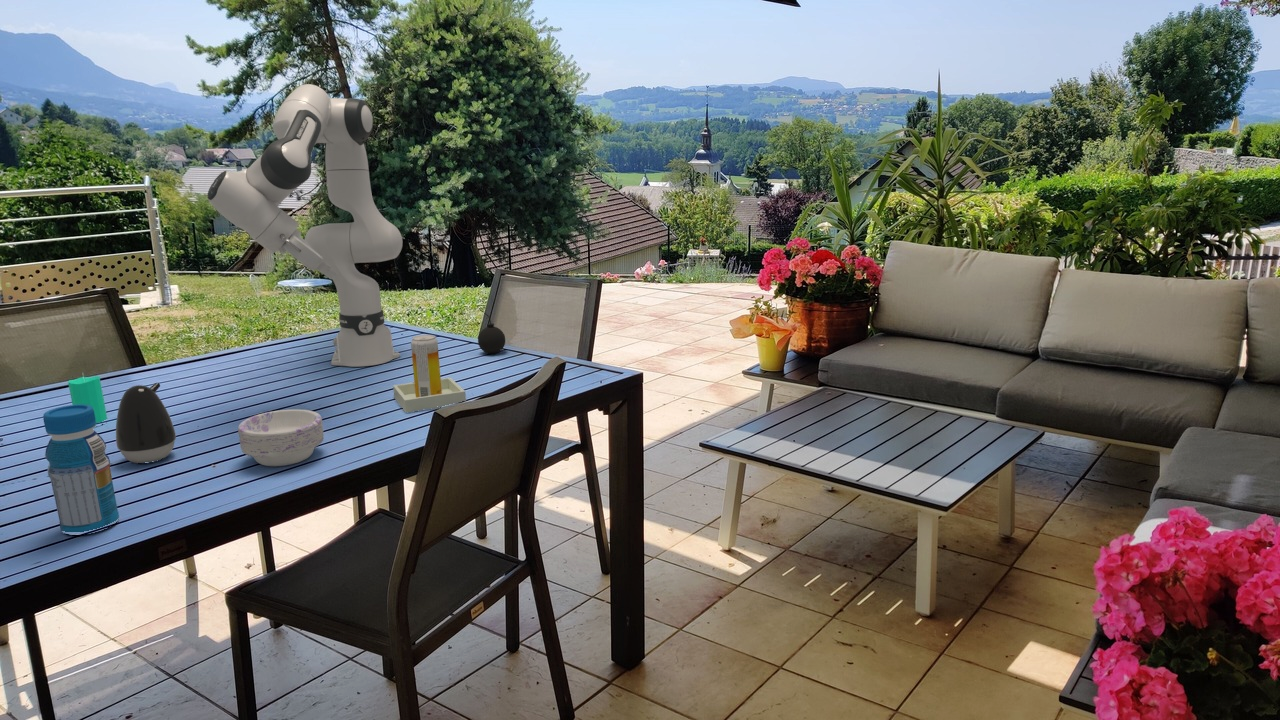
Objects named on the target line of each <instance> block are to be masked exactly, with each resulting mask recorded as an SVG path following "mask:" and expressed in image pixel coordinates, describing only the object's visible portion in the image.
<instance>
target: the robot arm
mask: <svg viewBox="0 0 1280 720" xmlns="http://www.w3.org/2000/svg"><path fill="white" fill-rule="evenodd" d="M373 127H374V119H373V113H372V110H371V108H370V106H369V105H368V104H367V103H366V102H365V100H363V99H361V98H360V99H359V98H354V97H349V98H343V97H341V98H339V97H330V96H329V95H328V93H327V92H326V91H325V90H324V89H323V88H321V87H320V86H318V85H315V84H310V83H308V84H307V83H305V84H302V85H299V86H298V87H296V88H295V89H294V90H292V92H291V93H290V94H289V95H288V96H286V98H285V99H284V100H283V101H282V103H281V105H280V107H279V108H278V110H277V112H276V113H275V115H274V119H273V123H272V130H273V131H272V132H273V133H274V135H275V137H276V139H277V140H274V141H272V142H271V143H270V144H269V145H268V146H267V147H266V148H265V150H264V151H263V152H262V154H261V155H259V156H258V157H257V159H256V160H255V161H253V163H252V164H250V166H249V167H246V168H244V169H241V170H238V171H233V172H232V171H229V170H224V171H222V172H221V173H219V174H218V175H217V177H215V179H214V181H213V182H212V183H211V185H210V187H209V189H208V192H207V201H208V202H209V203H210V204H211V206H212V207H213V208H214V209H215V210H216V211H217V212H218V213H219V214H220V215H221V216H222V217H224V218H225V219H226V220H227V221H229V222H230V223H231V224H233V225H234V226H235V227H236V228H239V229H241V230H243V231H245V232H246V233H247V234H248V235H249V236H250V238H251V239H252V240H253V241H255V242H256V243H257V244H259V245H260V246H261V247H263V248H264V249H265V250H267V251H268V252H269V253H271V254H275V253H276V252H279V253H280V254H281V255H284V254H286V253H288V254H290V256H292V257H293V258H295V260H297V261H299V262H300V263H301V264H302V265H303V266H305V267H306V268H307V269H309V270H310V271H313V272H314V271H315V270H316V271H318V272H320V273H321V274H322V275H324V276H326V277H327V278H328V279H329V280H332V281H333V283H334V285H335V288H336V291H337V292H336V294H337V297H338V299H337V300H338V304H339V309H340V310H339V311H340V312H339V314H338V322H339V326H340V330H339V332H337V335H336V337H334V338H333V339H332V341H333V343H332V344H333V347H335V349H334V352H333V355H332V359H331V363H330V364H331V366H344V367H353V368H354V367H356V368H357V367H359V368H360V367H369V366H377V365H381V364H385V363H388V362H390V361H392V360H393V359H398V358H400V357H401V354H400V352H398V351H396V350H394V343H393V337H392V331H391V329H390V328H389V327H387V326H386V325H385V313H384V310H383V309H382V302H381V291H380V286H379V283H378V282H377V281H376V280H375V279H374V278H372V277H371V276H368V275H366V274H364V273H361V272H360V271H359V270H358V269H357V268H356V265H355V264H359V263H361V264H362V263H364V264H365V263H381V262H386V261H391V260H393V259H396V258H398V257H399V255H400V253H401V251H402V249H403V237H402V234H401V232H400V230H399V229H398V227H397V226H395V224H393V223H391V222H390V221H389V220H388V219H386V218H385V217H384V215H382V213H381V212H380V211H379V209H378V208H377V206H376V204H375V202H374V199H373V195H372V187H371V180H370V171H369V170H370V169H369V162H368V161H369V160H368V154H367V151H366V150H367V149H366V146H365V142H366V140H367V139H368V138H369V137H370V135H371V133H372V132H373ZM316 144H325V154H324V157H325V160H324V161H325V175H326V187H327V195H328V199H329V201H330V202H331V204H333V205H334V206H335V207H337V208H339V209H341V210H343V211H345V212H349V213H350V215H352V217H353V221H352V222H338V223H337V222H335V223H324V224H323V223H322V224H319V225H316V226H315V225H314V226H312V227H310V228H308V230H307V232H306V234H305V236H304V238H303V237H302V236H301V235H302V232H301V231H300V230H299V229H298V227H299V222H298V221H296V220H295V219H294V218H293V217H292V216H290V215H289V214H288V213H287V212H285V211H284V210H283V209H282V208H280V207H279V205H280V204H281V203H282V202H283V201H284V200H285V199H287V198H288V196H290V195H291V194H292V193H293V192H294V191H295V190H296V189H298V187H301V185H303V183H305V182H306V181H308V179H309V178H310V177H311V174H312V152H313V150H314V147H315V145H316Z"/></svg>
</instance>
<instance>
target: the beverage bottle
mask: <svg viewBox="0 0 1280 720" xmlns="http://www.w3.org/2000/svg"><path fill="white" fill-rule="evenodd" d="M42 419H43V424H44V429H45V432H46V435H48V436H49V437H51V438H49V441H48V443H47V445H46V448H45V454H44V455H45V457H44V458H45V459H46V461H48V466H47V471H46V472H47V476H48V477H49V479H50V484H51V487H52V493H53V497H54V502H55V506H56V511H57V516H58V520H59V527H60V531H61V530H62V531H65V532H84V531H89V530H93V529H97V528H100V527H103V526H105V525H108V524H110V523H112V522H114V521H116V520H117V519H118V518H119V519H120V514H119V509H118V504H117V500H116V494H115V489H114V484H113V483H114V482H113V477H112V472H111V461H110V457H109V456H108V455H107V454H106V449H107V444H106V442H105V441H104V439H103V438H102V436H101V435H100V434H98V432H97V431H96V430H94V429H95V428H96V427H95V426H96V419H95V414H94V410H93V407H92V406H90V405H83V404H80V405H72V404H69V405H63V406H60V407H56V408H52V409H49V410H47V411H46V412H45V413H43V418H42ZM62 531H61V532H62Z"/></svg>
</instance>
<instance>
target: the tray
mask: <svg viewBox="0 0 1280 720" xmlns="http://www.w3.org/2000/svg"><path fill="white" fill-rule="evenodd" d="M392 388H393V391H392V392H393V399H395V401H396V400H397V401H396V403H397V404H398V405H399V404H400V405H399V406H400V407H401V409H402V408H403V409H402V410H403V411H404V413H405V412H406V413H405V414H408V413H407V412H411V413H414V412H413V411H418V410H423V409H431V408H433V409H431V410H436V409H440V408H439V407H442V406H445V405H449V404H453V403H458V402H462V401H466V402H467V397H466V391H465V389H464V388H462V387H461V385H460V384H458V383H457V382H456V380H454V379H453V378H451V377H445V378H441V389H442V394H438V395H431V396H424V397H417V398H416V394H415V383H414V382H409V383H400V384H393V385H392ZM437 406H438V407H437ZM418 412H419V411H418Z"/></svg>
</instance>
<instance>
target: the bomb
mask: <svg viewBox="0 0 1280 720" xmlns="http://www.w3.org/2000/svg"><path fill="white" fill-rule="evenodd" d="M483 314H484V315H485V316H487V318H488V320H489V323H487V324H486V325H487V326H486V327H484V328H483V329H482V330H480V332H479V334H478V338H477V344H478V347H479V348H480V349H481V351H483V353H484V352H485V353H486V354H490V355H494V354H497V353H500V352H501V351H502V350H503V349H504V347H505V346H506V336H505V333H504V332H503V330H502V329H500V328H499V327H496V326H495V324H494V323H492V320H491V317H490V316H489V314H487V313H486V312H484V313H483Z"/></svg>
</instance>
